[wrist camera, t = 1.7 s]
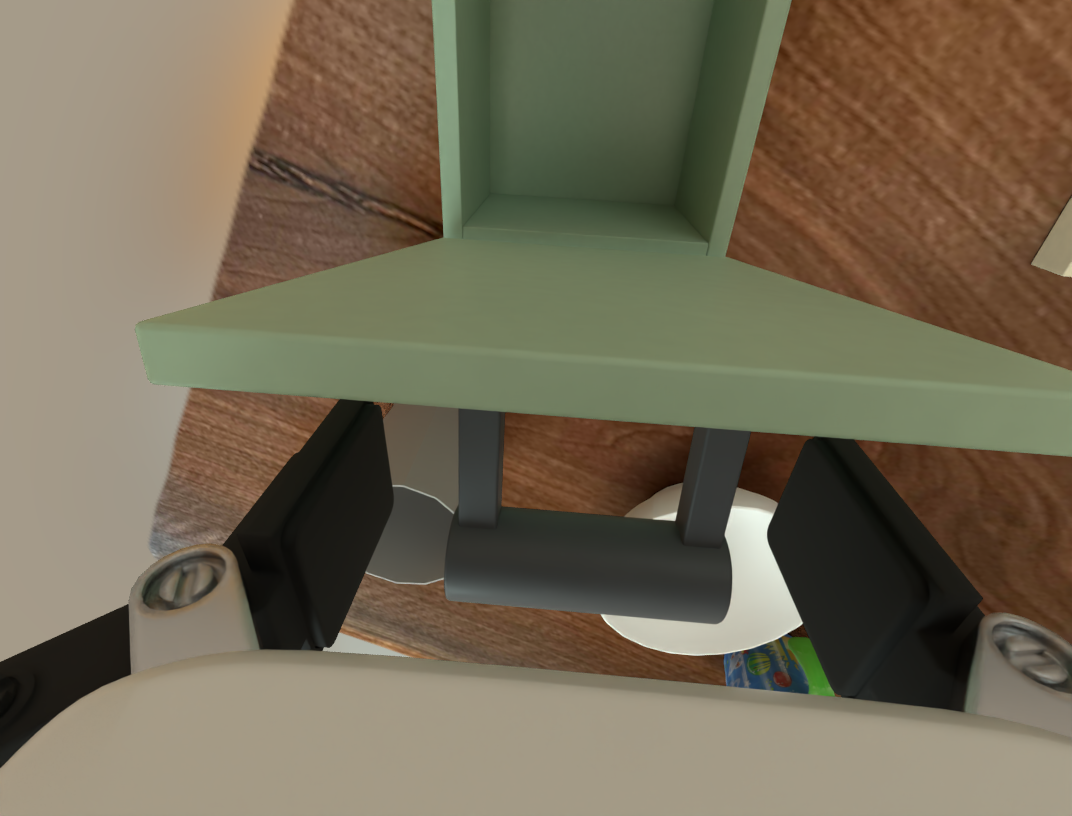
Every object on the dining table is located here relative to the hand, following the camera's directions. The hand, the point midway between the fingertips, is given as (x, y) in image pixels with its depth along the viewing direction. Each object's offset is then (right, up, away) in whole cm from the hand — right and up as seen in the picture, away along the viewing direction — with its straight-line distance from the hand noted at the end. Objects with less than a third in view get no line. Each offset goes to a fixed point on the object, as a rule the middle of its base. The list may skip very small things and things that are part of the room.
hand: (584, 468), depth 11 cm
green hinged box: (+2, +19, +13) cm, 23 cm away
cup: (-8, -1, +26) cm, 27 cm away
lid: (0, +5, +2) cm, 5 cm away
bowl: (+11, -7, +29) cm, 32 cm away
